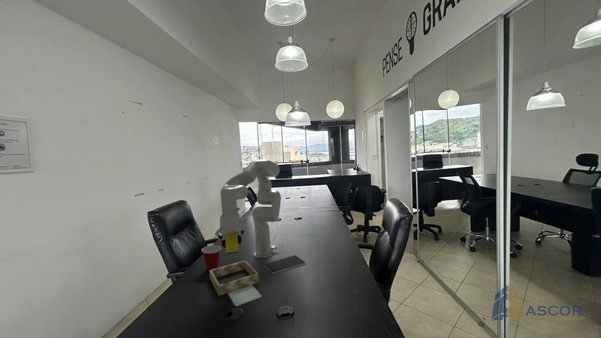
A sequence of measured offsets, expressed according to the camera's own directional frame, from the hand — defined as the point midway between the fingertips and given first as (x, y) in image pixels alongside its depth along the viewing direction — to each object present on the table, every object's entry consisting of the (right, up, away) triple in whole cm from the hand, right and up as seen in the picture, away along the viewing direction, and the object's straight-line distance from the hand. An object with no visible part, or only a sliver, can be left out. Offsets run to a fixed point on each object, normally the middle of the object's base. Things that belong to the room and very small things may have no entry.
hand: (232, 244), depth 126 cm
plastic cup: (-16, -19, +16) cm, 30 cm away
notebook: (+26, -18, +16) cm, 36 cm away
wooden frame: (+1, -19, +1) cm, 19 cm away
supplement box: (0, -4, 0) cm, 4 cm away
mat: (+10, -19, -14) cm, 25 cm away
